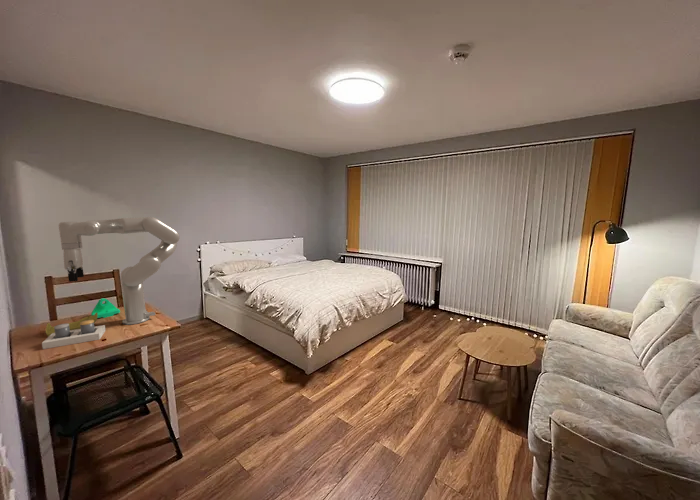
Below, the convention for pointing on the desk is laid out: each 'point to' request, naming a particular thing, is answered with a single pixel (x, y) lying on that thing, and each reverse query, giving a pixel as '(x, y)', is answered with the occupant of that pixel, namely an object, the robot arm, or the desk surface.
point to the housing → (73, 338)
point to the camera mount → (104, 309)
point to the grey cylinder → (62, 331)
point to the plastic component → (70, 324)
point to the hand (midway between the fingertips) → (76, 279)
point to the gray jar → (87, 327)
